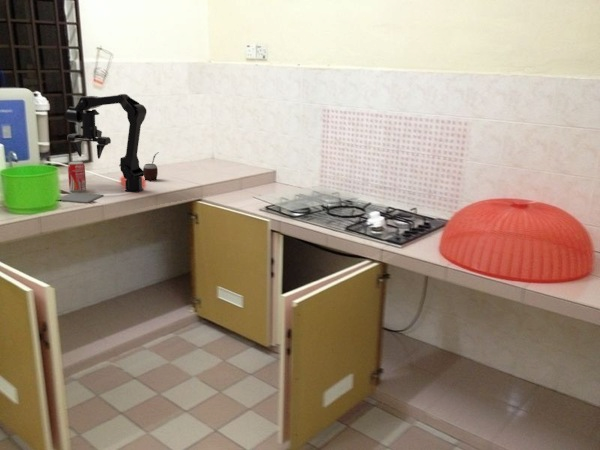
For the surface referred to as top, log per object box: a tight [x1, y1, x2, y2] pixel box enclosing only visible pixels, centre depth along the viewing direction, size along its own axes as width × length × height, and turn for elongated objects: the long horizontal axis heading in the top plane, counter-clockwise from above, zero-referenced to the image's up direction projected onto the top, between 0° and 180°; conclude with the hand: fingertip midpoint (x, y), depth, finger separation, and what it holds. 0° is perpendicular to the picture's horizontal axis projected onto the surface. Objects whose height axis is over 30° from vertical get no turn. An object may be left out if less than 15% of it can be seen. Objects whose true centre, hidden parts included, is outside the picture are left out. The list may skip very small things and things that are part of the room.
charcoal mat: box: [60, 192, 104, 204], centre depth 236 cm, size 14×14×1 cm
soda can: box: [67, 160, 87, 193], centre depth 247 cm, size 7×7×13 cm
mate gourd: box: [142, 152, 160, 182], centre depth 275 cm, size 8×8×15 cm
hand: (89, 157), depth 256 cm, fingers open, 9 cm apart
